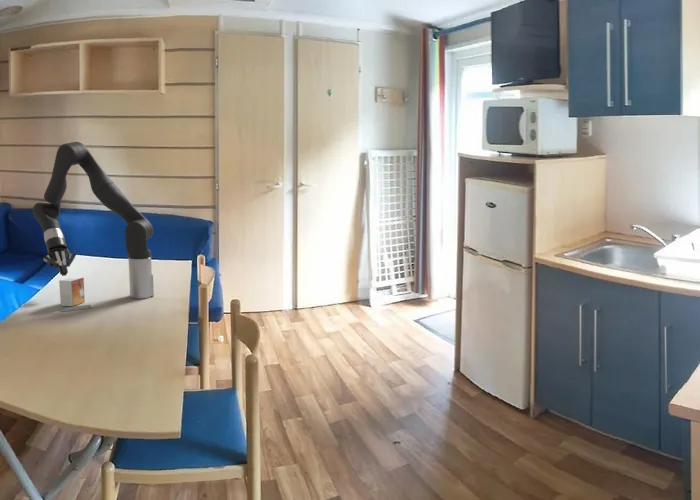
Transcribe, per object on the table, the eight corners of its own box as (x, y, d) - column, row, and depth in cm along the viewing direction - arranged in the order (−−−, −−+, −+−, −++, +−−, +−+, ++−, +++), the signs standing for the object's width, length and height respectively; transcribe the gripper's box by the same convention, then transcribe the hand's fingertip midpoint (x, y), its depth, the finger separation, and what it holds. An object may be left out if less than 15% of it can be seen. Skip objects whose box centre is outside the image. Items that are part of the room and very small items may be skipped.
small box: (72, 306, 228) (70, 281, 227) (60, 305, 229) (58, 280, 228) (85, 301, 236) (84, 277, 234) (73, 300, 237) (72, 276, 235)
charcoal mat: (90, 305, 232) (90, 304, 232) (92, 308, 228) (92, 307, 228) (60, 308, 226) (60, 307, 226) (61, 311, 222) (61, 311, 222)
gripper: (39, 237, 238) (48, 271, 231) (73, 234, 246) (83, 267, 240) (36, 247, 243) (45, 281, 236) (70, 244, 251) (79, 277, 244)
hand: (64, 274), depth 238 cm, fingers closed
